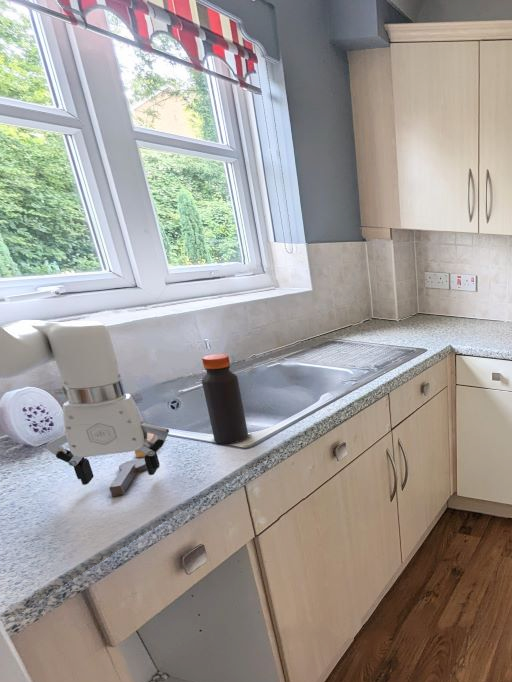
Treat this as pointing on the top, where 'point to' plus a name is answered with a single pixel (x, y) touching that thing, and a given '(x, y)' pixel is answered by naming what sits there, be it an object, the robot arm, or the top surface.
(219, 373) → the bottle
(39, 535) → the top surface
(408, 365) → the top surface
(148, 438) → the wooden bar
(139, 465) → the spoon
